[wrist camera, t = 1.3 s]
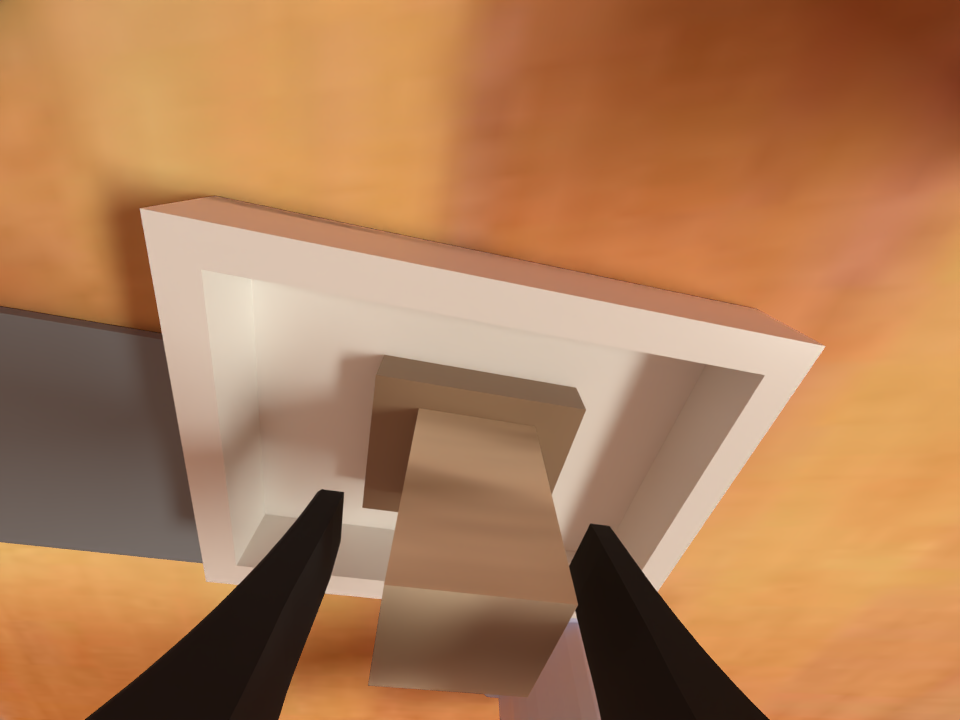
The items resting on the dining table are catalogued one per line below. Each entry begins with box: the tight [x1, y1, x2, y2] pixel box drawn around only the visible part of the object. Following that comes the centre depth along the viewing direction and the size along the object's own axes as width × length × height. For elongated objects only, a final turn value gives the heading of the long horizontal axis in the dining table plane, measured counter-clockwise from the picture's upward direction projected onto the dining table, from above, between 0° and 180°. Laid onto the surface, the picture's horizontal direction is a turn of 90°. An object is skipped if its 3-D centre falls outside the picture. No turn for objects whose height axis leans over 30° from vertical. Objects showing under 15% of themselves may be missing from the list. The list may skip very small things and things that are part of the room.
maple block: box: [368, 408, 578, 697], centre depth 11 cm, size 4×4×6 cm
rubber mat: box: [0, 306, 203, 563], centre depth 16 cm, size 12×12×1 cm
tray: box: [140, 196, 825, 618], centre depth 15 cm, size 14×18×3 cm
